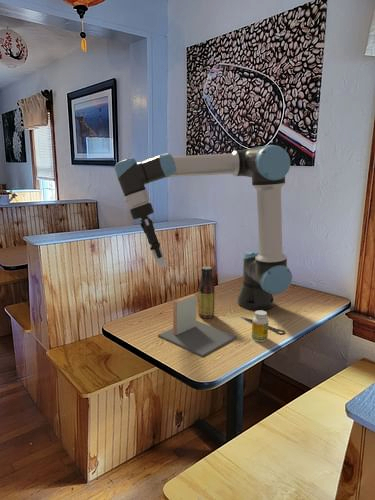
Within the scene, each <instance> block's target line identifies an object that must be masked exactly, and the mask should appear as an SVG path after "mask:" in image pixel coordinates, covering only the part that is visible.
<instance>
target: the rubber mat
mask: <svg viewBox="0 0 375 500" xmlns="http://www.w3.org/2000/svg"><path fill="white" fill-rule="evenodd" d="M158 337H159V338H161V339H163V340H165V341H168V342H170V343H172V344H173V345H177V346H179V348H180V347H181V348H182V349H185V350H187V351H189V352H191V353H194V354H196V355H198V356H200V357H202V358H203V357H205V356H206V355H208V354H210V353H213V352H214V351H215V350H218V349H219V348H221V347H223V346H225V345H226V344H228V343H230V342H232V341H233V340H236V339H237V337H238V336H237V335H234V334H232V333H229V332H227V331H224V330H222V329H220V328H216V327H214V326H211V325H209V324H206V323H204V322H201V321H198V320H196V326H195V327H193V328H191V329H189V330H187V331H185V332H182V333H180V334H178V335H175V334H173V328H171V329H168V330H165V331H164V332H161V333H158Z"/></svg>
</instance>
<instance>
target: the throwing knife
mask: <svg viewBox="0 0 375 500" xmlns="http://www.w3.org/2000/svg"><path fill="white" fill-rule="evenodd" d="M240 318H241V319H243V320H244V321H246V322H248V323H249V324H251V325H252V320H253V318H252V319H251V318H247V317H244V316H240ZM268 331H272V332H274V333H276V334H277V335H281V336H282V335H285V334H286V331H285V330H283V329H279V328H276V327H272V326H270V325H268Z"/></svg>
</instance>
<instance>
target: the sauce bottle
mask: <svg viewBox="0 0 375 500" xmlns="http://www.w3.org/2000/svg"><path fill="white" fill-rule="evenodd" d="M212 272H213V267H212V266H209V265H207V266H206V265H205V266H201V280H200V282H199V285H198V300H197V301H198V309H197V310H198V316H199V317H200V318H203V319H211V318H214V317H215V307H216V306H215V305H216V304H215V303H216V301H215V298H216V297H215V295H216V291H215V282H214V280H212V278H213V277H212V276H213V275H212V274H213V273H212Z"/></svg>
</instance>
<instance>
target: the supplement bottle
mask: <svg viewBox="0 0 375 500" xmlns="http://www.w3.org/2000/svg"><path fill="white" fill-rule="evenodd" d="M254 311H255V312H254V317H252V324H251V325H252V327H251V339H252V340H253V341H255V342H258V343H263V342H264V343H265V342H266V341H267V340H268V336H269V335H268V334H269V329H268V326H269V318H267V317H268V313H267V311H266V310H254Z"/></svg>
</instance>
